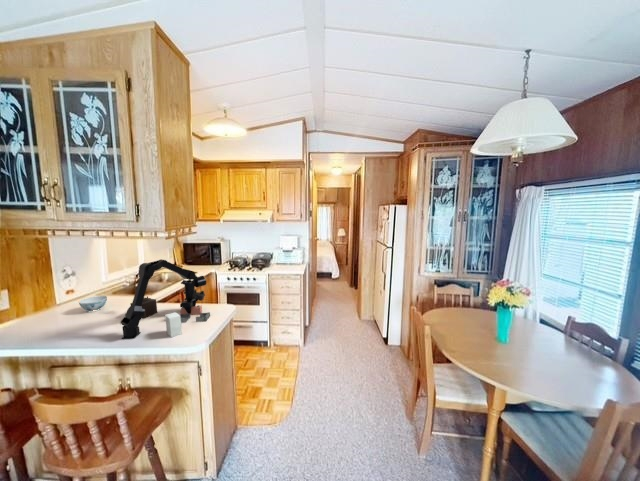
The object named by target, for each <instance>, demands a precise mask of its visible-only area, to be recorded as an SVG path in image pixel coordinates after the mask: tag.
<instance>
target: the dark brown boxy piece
mask: <svg viewBox="0 0 640 481" xmlns="http://www.w3.org/2000/svg"><path fill="white" fill-rule="evenodd" d="M136 288H137V285H136V286H135V287H134V290H135V291H136ZM131 305H132V302H130V306H131ZM142 309H145V312H144V314H143V317H142V318H141V320H142V319H143V320H144V319H147V318H149V317H151V316H153V315H156V314H158V305H157V299H156V298H155V299H154V298H151V297H149V296H146V297H144V299H143V303H142Z"/></svg>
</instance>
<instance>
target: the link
mask: <svg viewBox="0 0 640 481" xmlns="http://www.w3.org/2000/svg"><path fill="white" fill-rule="evenodd" d="M200 313H203V306H202V305H199V304H198V305H196V306H192V307H191V316H200ZM180 314H188V313H187V311H186V310H185V309H184V308H183V307H180Z"/></svg>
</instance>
